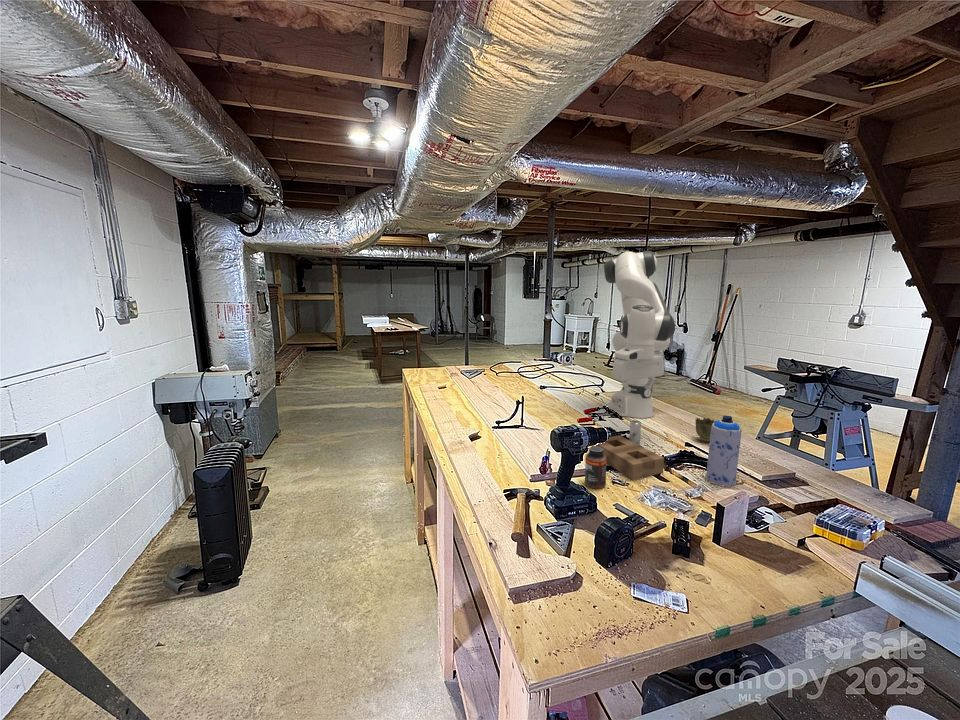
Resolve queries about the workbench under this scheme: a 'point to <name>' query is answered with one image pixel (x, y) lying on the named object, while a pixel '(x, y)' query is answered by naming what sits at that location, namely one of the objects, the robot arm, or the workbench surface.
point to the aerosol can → (723, 452)
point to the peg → (635, 431)
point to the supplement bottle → (595, 468)
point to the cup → (704, 428)
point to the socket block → (631, 458)
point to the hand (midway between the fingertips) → (637, 390)
